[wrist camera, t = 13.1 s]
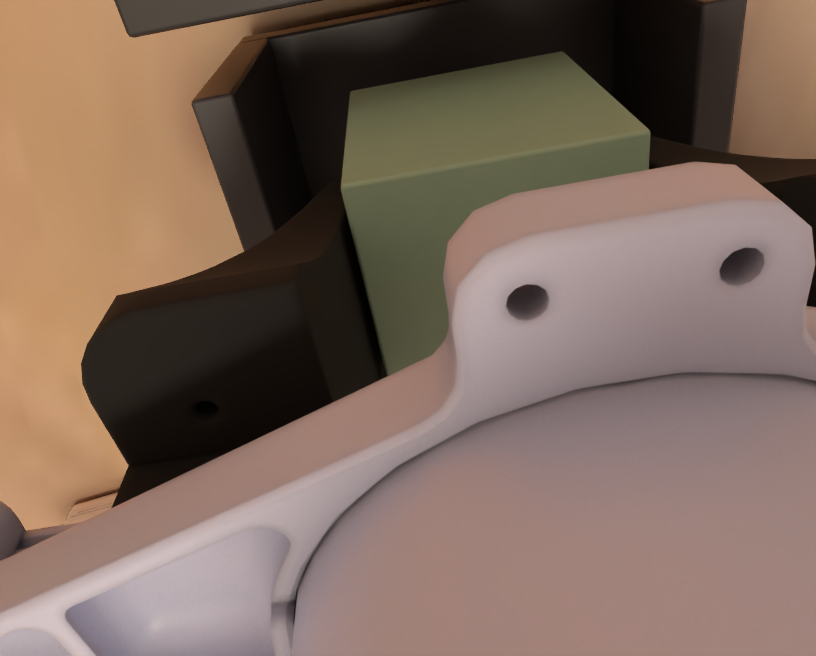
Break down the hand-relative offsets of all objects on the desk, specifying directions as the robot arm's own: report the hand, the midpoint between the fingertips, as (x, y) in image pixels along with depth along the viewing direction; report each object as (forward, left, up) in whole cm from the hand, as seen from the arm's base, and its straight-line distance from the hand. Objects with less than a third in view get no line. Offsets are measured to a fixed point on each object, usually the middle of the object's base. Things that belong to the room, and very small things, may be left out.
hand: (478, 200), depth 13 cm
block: (0, 0, -1) cm, 1 cm away
